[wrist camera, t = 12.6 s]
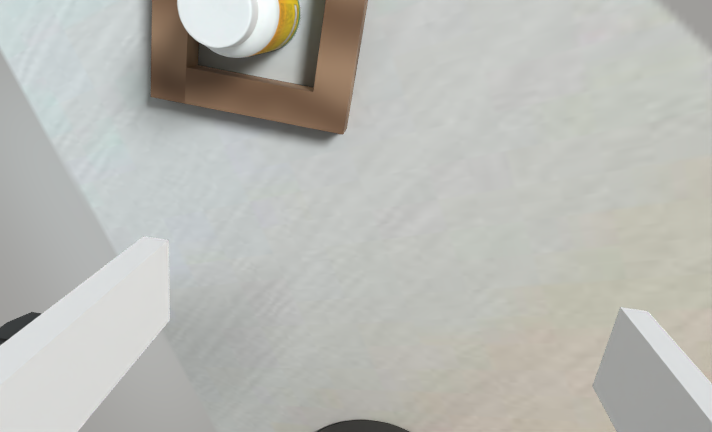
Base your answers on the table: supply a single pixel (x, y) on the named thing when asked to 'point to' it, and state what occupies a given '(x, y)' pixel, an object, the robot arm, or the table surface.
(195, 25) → the supplement bottle
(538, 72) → the table surface
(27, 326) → the robot arm
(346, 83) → the holder frame
